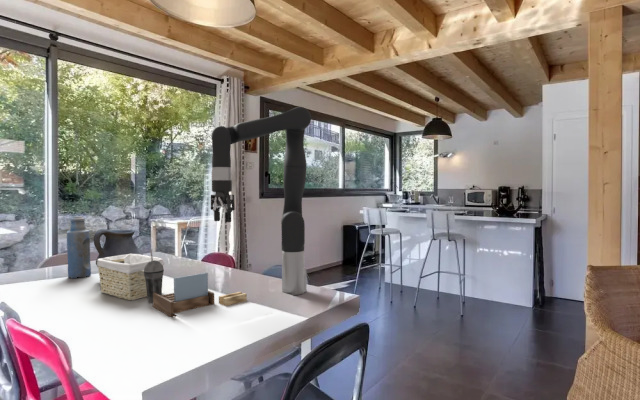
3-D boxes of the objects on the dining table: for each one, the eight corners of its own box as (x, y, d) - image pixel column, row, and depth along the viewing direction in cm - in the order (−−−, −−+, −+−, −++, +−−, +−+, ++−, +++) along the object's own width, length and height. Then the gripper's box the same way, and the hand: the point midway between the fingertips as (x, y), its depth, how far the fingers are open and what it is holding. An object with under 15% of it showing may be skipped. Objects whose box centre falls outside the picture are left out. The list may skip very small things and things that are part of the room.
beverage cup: (168, 299, 146) (167, 248, 145) (155, 304, 139) (153, 250, 138) (153, 297, 148) (152, 247, 148) (139, 302, 141) (138, 250, 141)
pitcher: (153, 277, 183) (152, 226, 182) (108, 287, 164) (106, 231, 164) (129, 273, 194) (128, 225, 193) (84, 282, 175) (83, 228, 175)
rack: (195, 297, 148) (194, 285, 147) (214, 306, 136) (214, 292, 136) (153, 306, 136) (152, 293, 136) (170, 317, 125) (170, 302, 125)
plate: (206, 302, 138) (206, 272, 138) (208, 302, 137) (207, 272, 137) (174, 309, 130) (173, 277, 130) (175, 310, 129) (175, 278, 129)
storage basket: (166, 292, 156) (165, 257, 155) (128, 303, 142) (127, 264, 142) (133, 285, 169) (132, 252, 168) (95, 294, 155) (95, 258, 155)
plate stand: (239, 300, 143) (239, 291, 143) (247, 303, 140) (247, 293, 139) (218, 305, 137) (218, 296, 137) (225, 308, 133) (225, 298, 133)
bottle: (83, 278, 183) (81, 217, 182) (63, 278, 183) (61, 217, 182) (95, 274, 192) (93, 215, 191) (76, 274, 192) (74, 216, 192)
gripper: (240, 179, 141) (240, 222, 142) (221, 180, 152) (222, 220, 152) (222, 178, 136) (222, 223, 137) (204, 179, 147) (204, 221, 147)
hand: (222, 221), depth 144 cm, fingers open, 8 cm apart
